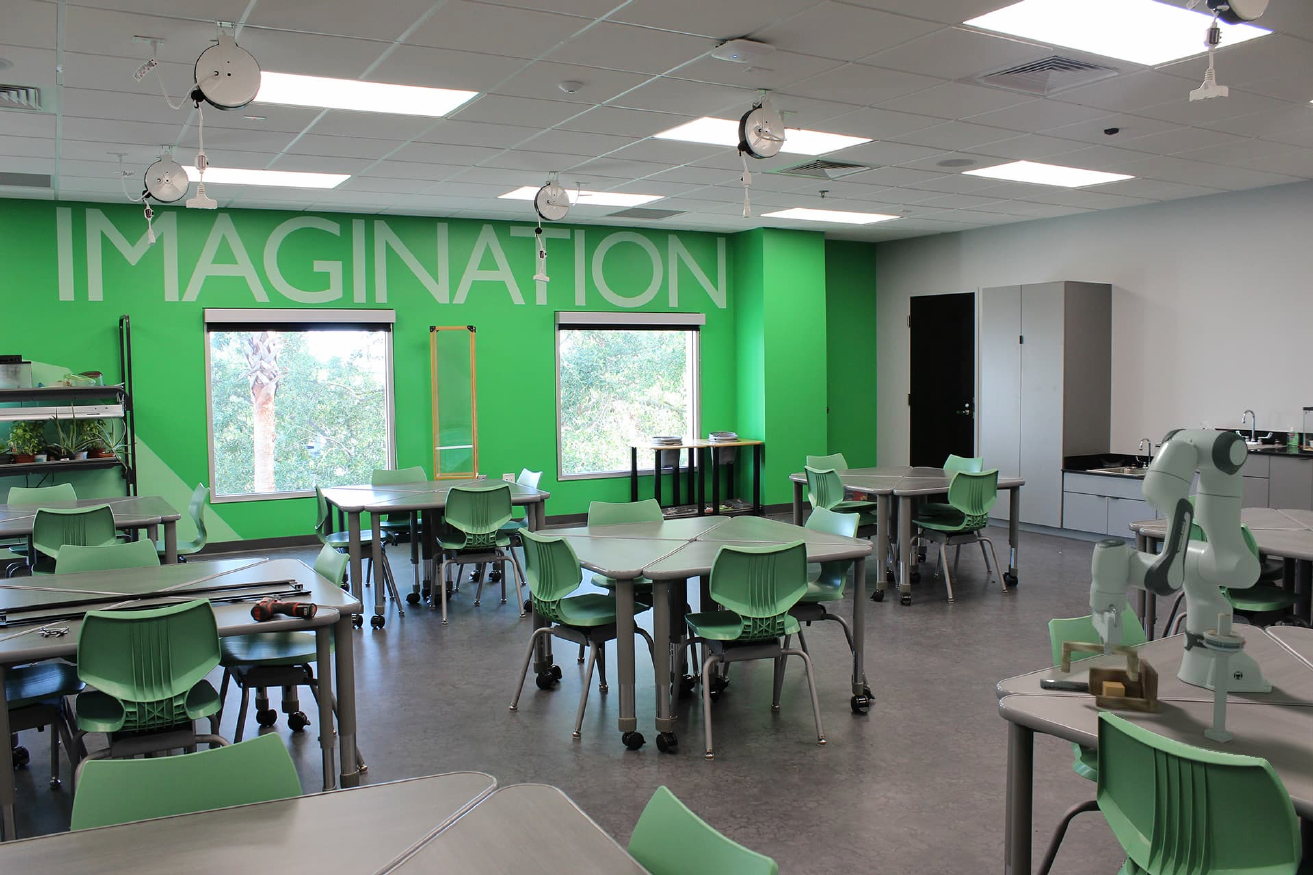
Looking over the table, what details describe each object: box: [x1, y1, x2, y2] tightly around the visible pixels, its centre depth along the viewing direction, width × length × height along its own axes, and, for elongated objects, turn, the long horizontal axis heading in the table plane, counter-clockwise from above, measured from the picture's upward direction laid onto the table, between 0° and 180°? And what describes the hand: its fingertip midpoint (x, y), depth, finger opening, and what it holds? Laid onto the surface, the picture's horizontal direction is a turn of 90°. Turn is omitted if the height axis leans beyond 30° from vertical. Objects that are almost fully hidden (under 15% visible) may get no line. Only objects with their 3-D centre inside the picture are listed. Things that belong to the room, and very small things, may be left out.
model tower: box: [1203, 613, 1245, 744], centre depth 224 cm, size 8×8×30 cm
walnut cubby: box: [1088, 658, 1159, 714], centre depth 250 cm, size 14×13×10 cm
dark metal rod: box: [1039, 678, 1089, 692], centre depth 260 cm, size 12×2×2 cm, turn 76°
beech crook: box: [1060, 640, 1140, 681], centre depth 251 cm, size 18×6×8 cm, turn 76°
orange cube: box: [1102, 681, 1125, 697], centre depth 251 cm, size 4×4×4 cm
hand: (1105, 652), depth 250 cm, fingers closed on beech crook
